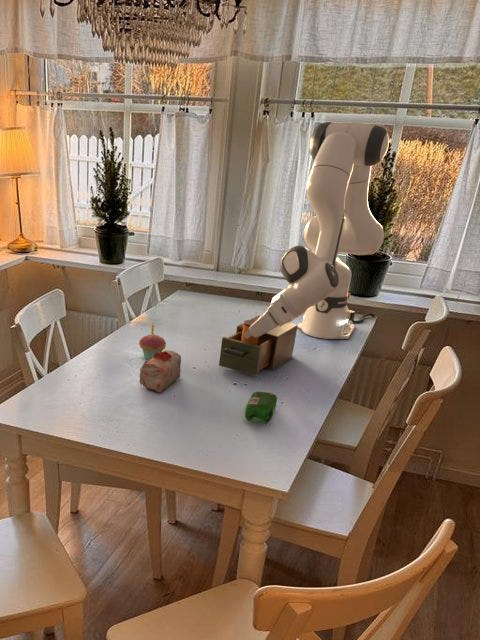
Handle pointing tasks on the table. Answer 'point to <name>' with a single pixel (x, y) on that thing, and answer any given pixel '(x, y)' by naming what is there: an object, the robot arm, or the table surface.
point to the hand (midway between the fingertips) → (248, 333)
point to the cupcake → (152, 344)
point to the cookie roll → (245, 328)
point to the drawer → (246, 354)
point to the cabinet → (279, 342)
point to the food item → (160, 370)
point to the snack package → (260, 407)
